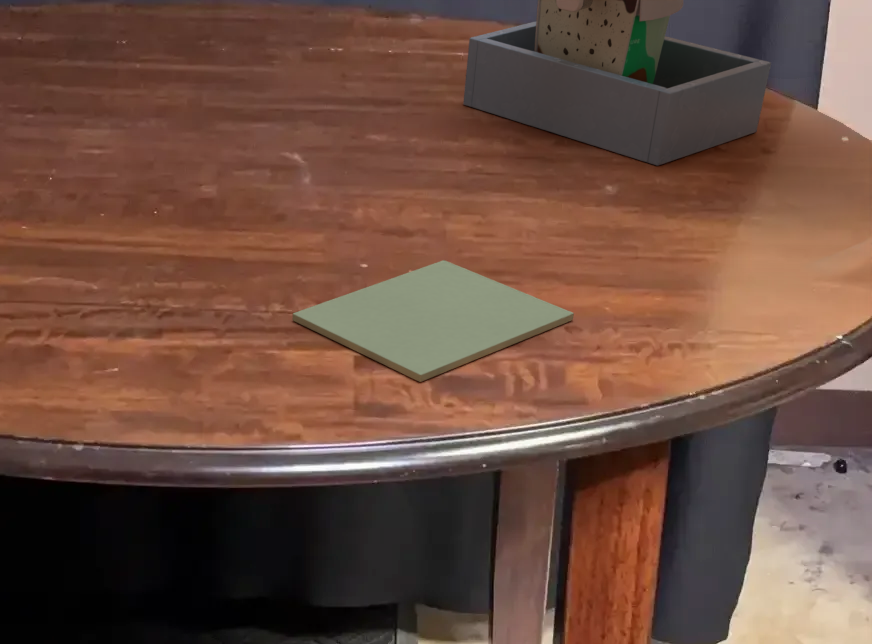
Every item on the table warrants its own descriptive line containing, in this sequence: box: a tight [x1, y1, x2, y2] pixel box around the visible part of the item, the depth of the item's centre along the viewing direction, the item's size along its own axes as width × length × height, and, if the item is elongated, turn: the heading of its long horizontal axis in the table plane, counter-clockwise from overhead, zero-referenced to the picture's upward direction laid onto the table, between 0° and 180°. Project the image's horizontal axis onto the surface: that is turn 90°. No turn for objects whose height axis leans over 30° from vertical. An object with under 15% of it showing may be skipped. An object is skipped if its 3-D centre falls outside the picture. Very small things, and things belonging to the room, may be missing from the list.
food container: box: [534, 0, 684, 84], centre depth 100 cm, size 12×6×10 cm, turn 22°
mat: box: [292, 259, 575, 383], centre depth 76 cm, size 9×11×1 cm
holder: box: [462, 21, 772, 167], centre depth 102 cm, size 17×11×4 cm, turn 39°
